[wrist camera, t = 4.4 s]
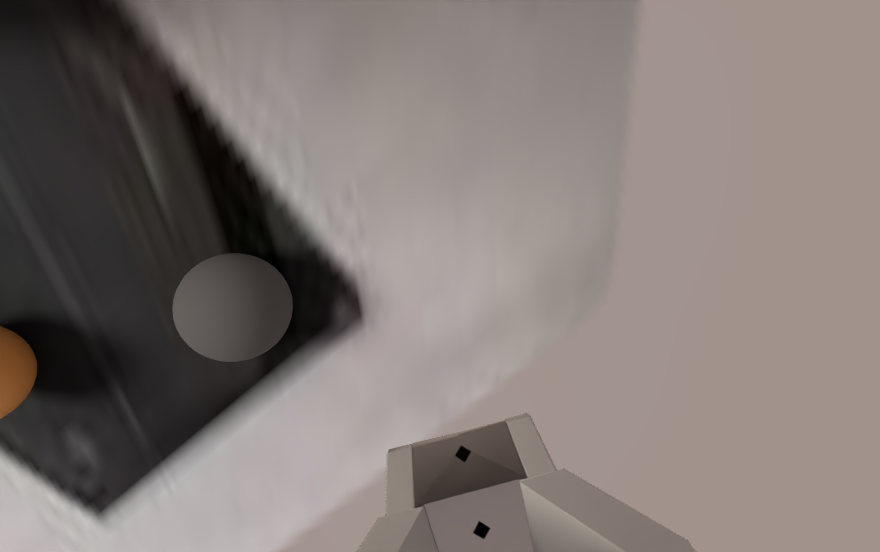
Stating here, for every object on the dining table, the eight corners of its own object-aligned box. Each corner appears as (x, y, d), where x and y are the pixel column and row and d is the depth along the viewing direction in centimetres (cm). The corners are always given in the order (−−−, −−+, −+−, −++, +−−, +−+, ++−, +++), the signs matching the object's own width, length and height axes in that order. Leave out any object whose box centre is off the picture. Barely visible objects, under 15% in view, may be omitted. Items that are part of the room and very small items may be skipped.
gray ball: (224, 341, 25) (181, 396, 20) (184, 255, 23) (125, 290, 18) (314, 318, 25) (295, 366, 20) (282, 231, 23) (252, 259, 18)
